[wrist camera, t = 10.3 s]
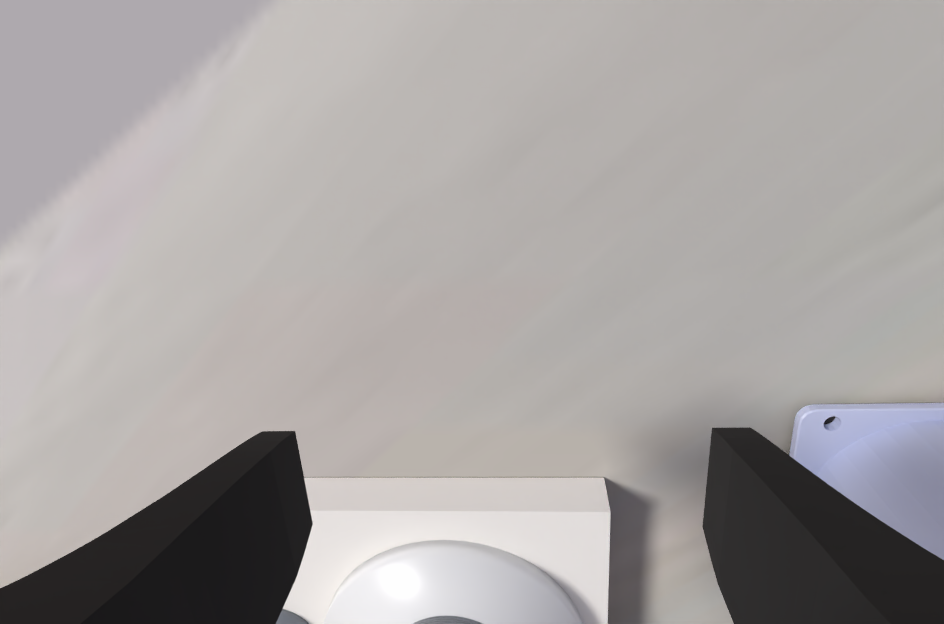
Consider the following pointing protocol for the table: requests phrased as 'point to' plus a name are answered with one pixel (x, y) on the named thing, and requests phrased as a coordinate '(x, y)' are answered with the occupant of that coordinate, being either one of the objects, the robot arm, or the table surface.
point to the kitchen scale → (454, 551)
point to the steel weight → (447, 620)
